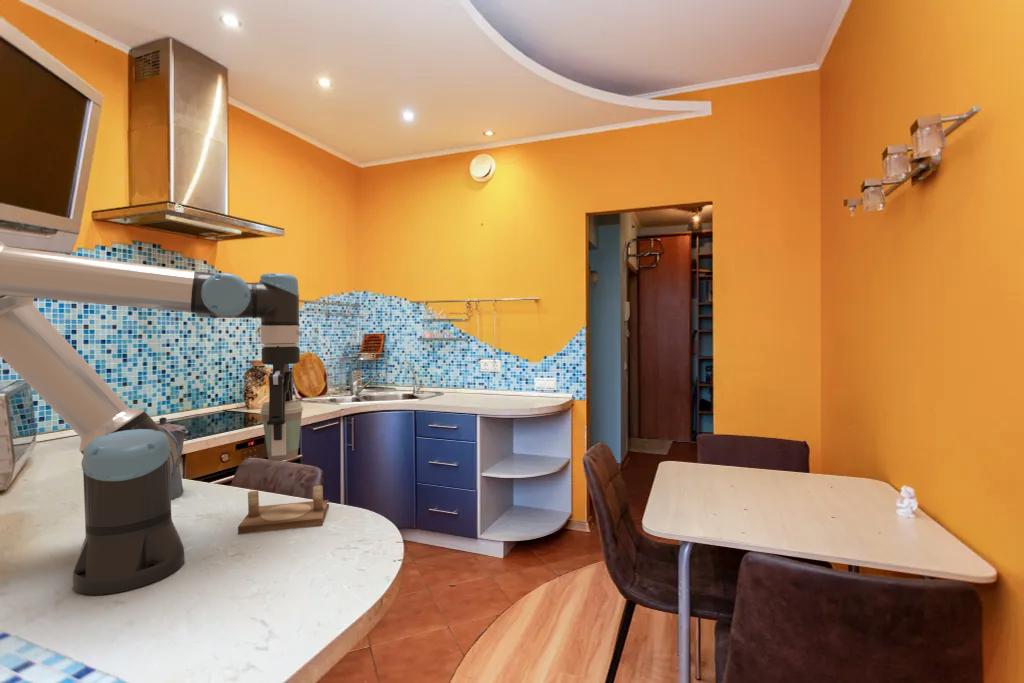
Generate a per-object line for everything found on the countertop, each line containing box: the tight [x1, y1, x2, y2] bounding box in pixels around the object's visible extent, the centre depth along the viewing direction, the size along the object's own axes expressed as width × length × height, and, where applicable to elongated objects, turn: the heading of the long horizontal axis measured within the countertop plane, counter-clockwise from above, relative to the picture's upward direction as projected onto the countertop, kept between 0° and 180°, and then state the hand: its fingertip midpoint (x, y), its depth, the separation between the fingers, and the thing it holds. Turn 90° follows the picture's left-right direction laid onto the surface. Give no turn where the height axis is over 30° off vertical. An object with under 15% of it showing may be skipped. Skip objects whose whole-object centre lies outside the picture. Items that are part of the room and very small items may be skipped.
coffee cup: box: [259, 399, 304, 462], centre depth 109 cm, size 9×8×12 cm
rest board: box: [237, 485, 330, 535], centre depth 109 cm, size 12×16×6 cm
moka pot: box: [157, 417, 189, 500], centre depth 125 cm, size 10×15×20 cm, turn 89°
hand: (282, 450), depth 109 cm, fingers closed on coffee cup, 8 cm apart
